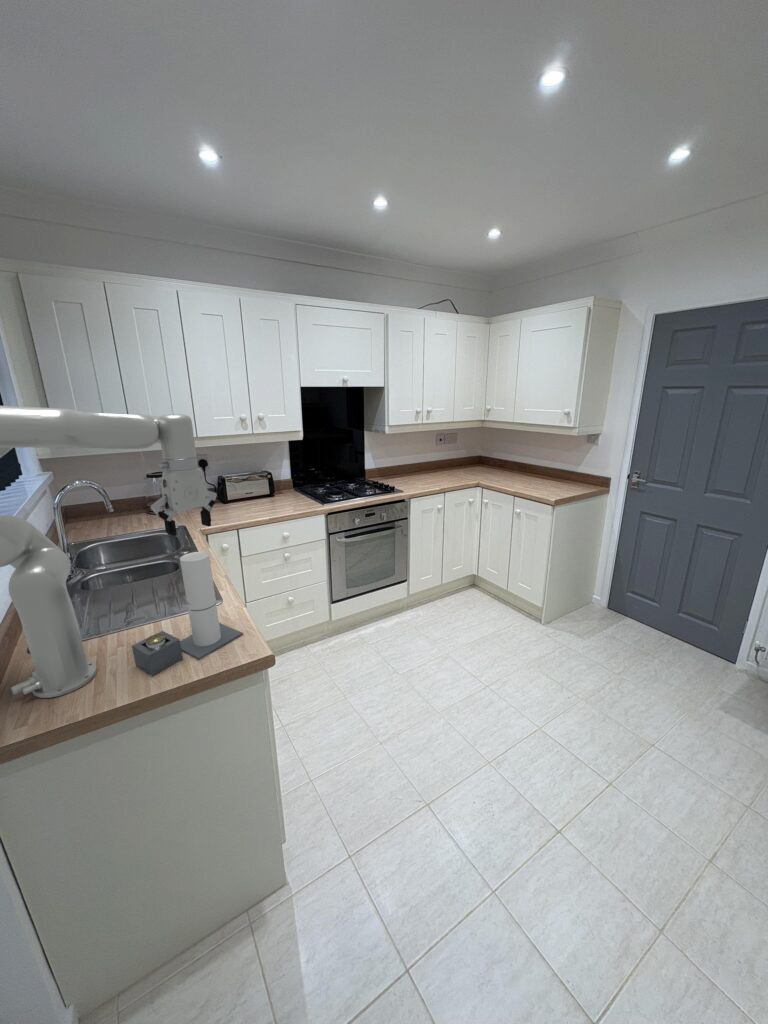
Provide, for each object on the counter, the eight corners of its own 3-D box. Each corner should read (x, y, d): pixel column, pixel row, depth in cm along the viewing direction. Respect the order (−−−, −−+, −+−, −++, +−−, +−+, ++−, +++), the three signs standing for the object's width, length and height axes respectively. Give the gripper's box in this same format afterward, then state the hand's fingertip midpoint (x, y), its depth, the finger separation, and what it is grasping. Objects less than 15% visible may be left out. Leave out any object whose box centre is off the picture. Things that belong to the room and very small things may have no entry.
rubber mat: (199, 660, 106) (198, 658, 105) (173, 646, 112) (172, 644, 112) (243, 634, 117) (242, 632, 117) (217, 623, 123) (217, 621, 123)
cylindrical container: (212, 629, 119) (200, 549, 112) (225, 637, 114) (214, 555, 108) (188, 640, 113) (174, 557, 107) (201, 649, 109) (187, 563, 103)
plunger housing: (152, 676, 100) (148, 655, 98) (135, 666, 104) (131, 645, 102) (183, 659, 106) (179, 639, 104) (166, 650, 110) (162, 630, 109)
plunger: (155, 664, 102) (151, 645, 100) (146, 658, 104) (142, 640, 102) (171, 655, 105) (167, 636, 104) (162, 650, 107) (158, 632, 106)
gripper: (154, 470, 92) (165, 541, 96) (220, 461, 106) (227, 524, 111) (137, 468, 96) (148, 536, 100) (203, 460, 110) (210, 520, 114)
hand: (190, 530), depth 105 cm, fingers open, 9 cm apart
